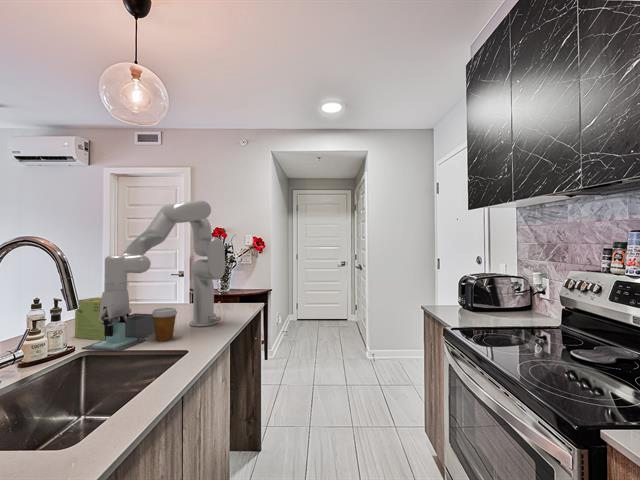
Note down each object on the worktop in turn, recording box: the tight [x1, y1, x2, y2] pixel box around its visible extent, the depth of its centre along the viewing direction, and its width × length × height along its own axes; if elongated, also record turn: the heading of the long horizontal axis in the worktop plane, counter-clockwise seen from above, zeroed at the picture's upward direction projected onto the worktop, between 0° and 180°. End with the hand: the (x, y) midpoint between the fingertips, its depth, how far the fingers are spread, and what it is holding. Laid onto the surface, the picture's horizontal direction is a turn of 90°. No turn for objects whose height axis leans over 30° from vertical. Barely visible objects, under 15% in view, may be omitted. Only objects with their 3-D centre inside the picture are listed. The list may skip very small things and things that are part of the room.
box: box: [113, 312, 155, 339], centre depth 141 cm, size 11×13×8 cm
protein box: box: [74, 296, 118, 341], centre depth 140 cm, size 10×15×16 cm
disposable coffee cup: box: [151, 307, 178, 342], centre depth 135 cm, size 10×10×12 cm
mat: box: [81, 338, 147, 353], centre depth 128 cm, size 16×14×1 cm
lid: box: [92, 322, 137, 349], centre depth 128 cm, size 10×12×8 cm
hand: (115, 333), depth 128 cm, fingers open, 5 cm apart
